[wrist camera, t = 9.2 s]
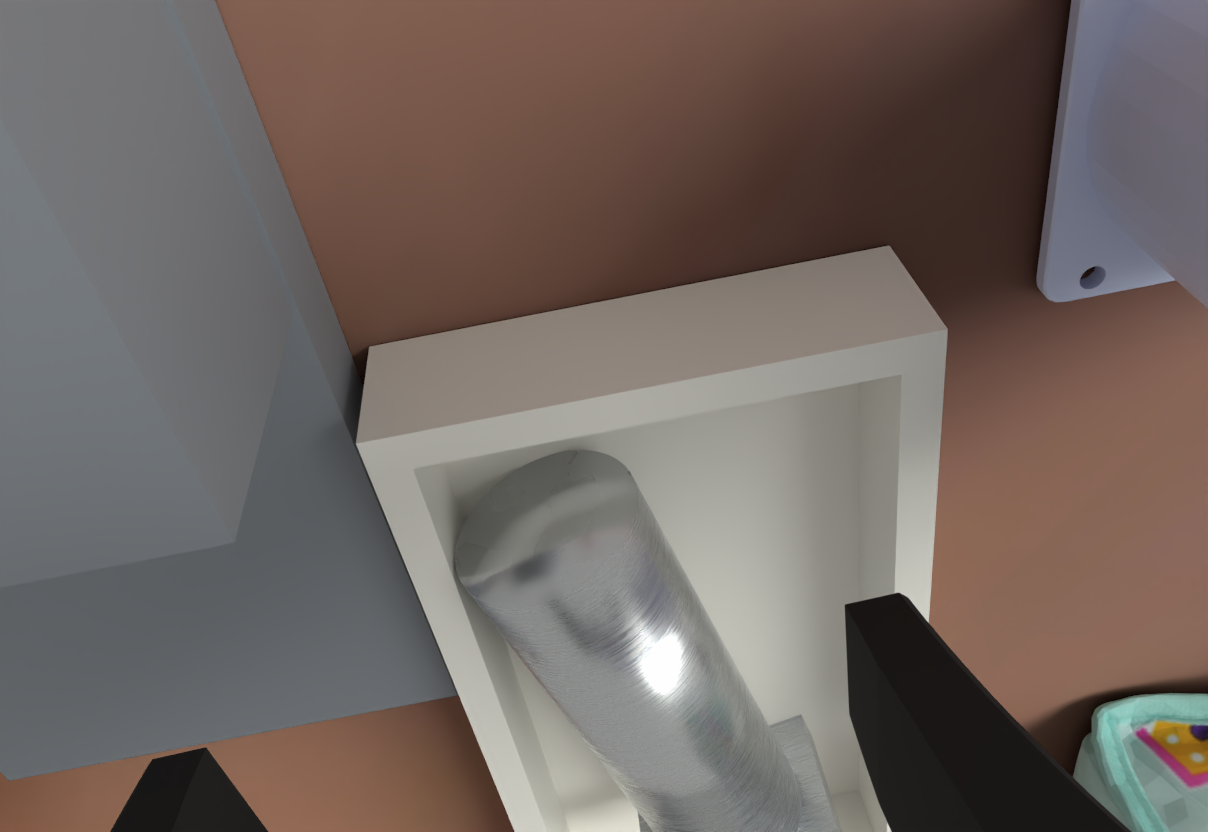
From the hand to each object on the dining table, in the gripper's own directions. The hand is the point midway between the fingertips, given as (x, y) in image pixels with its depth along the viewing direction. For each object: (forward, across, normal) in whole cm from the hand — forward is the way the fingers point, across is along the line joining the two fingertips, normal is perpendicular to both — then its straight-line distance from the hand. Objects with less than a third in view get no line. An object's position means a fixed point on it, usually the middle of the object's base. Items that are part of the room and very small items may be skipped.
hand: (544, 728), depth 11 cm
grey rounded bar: (+10, -1, +10) cm, 14 cm away
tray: (+10, -2, +11) cm, 15 cm away
